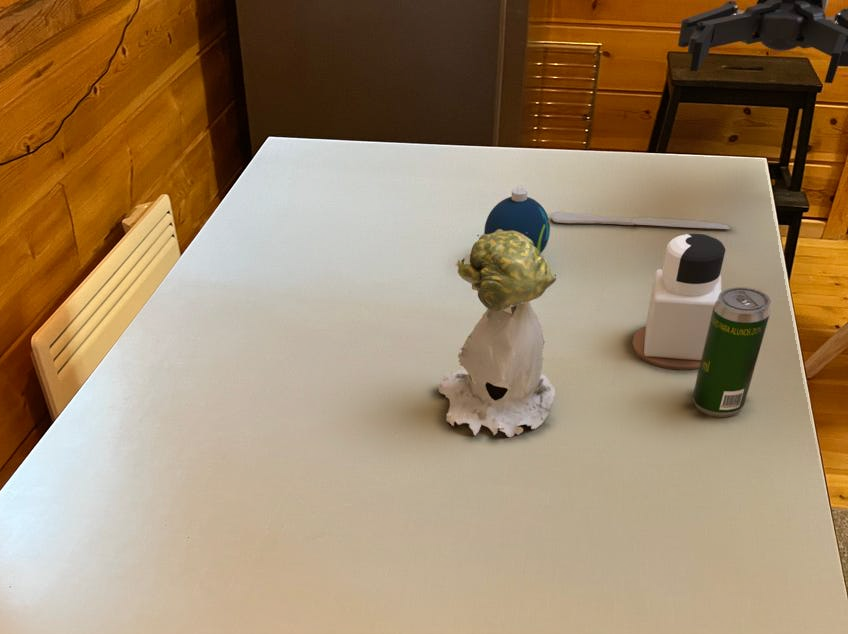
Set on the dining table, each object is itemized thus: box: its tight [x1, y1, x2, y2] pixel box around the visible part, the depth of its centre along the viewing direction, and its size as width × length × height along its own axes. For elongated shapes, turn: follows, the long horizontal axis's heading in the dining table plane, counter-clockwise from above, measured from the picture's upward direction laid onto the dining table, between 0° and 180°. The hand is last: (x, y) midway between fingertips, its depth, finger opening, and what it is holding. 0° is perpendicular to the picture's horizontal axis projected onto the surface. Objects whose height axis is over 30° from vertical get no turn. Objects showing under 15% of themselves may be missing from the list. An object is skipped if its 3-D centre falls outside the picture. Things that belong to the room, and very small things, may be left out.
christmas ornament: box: [483, 184, 551, 255], centre depth 123 cm, size 8×8×10 cm
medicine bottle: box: [644, 233, 727, 361], centre depth 106 cm, size 7×7×12 cm
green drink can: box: [692, 286, 772, 418], centre depth 98 cm, size 5×5×12 cm
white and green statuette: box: [438, 229, 557, 438], centre depth 98 cm, size 12×13×18 cm
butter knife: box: [550, 211, 730, 230], centre depth 133 cm, size 1×24×3 cm
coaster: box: [631, 326, 701, 371], centre depth 111 cm, size 10×10×1 cm
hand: (762, 62), depth 99 cm, fingers open, 13 cm apart
